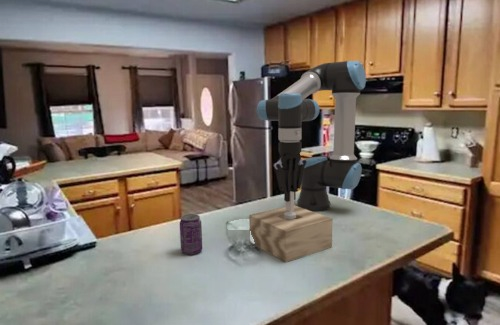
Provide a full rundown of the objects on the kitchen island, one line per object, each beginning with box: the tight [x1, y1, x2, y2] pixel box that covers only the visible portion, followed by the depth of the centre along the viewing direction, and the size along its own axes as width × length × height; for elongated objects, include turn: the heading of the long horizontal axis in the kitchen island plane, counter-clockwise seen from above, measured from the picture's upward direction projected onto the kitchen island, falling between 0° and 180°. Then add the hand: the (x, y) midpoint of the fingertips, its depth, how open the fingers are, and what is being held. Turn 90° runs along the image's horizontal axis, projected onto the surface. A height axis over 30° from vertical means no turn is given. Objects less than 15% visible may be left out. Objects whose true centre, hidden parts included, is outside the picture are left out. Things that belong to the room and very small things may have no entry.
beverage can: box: [179, 213, 203, 256], centre depth 119 cm, size 7×7×12 cm
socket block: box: [248, 204, 334, 263], centre depth 124 cm, size 20×20×10 cm
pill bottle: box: [284, 212, 296, 221], centre depth 123 cm, size 6×5×10 cm
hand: (289, 210), depth 122 cm, fingers closed
